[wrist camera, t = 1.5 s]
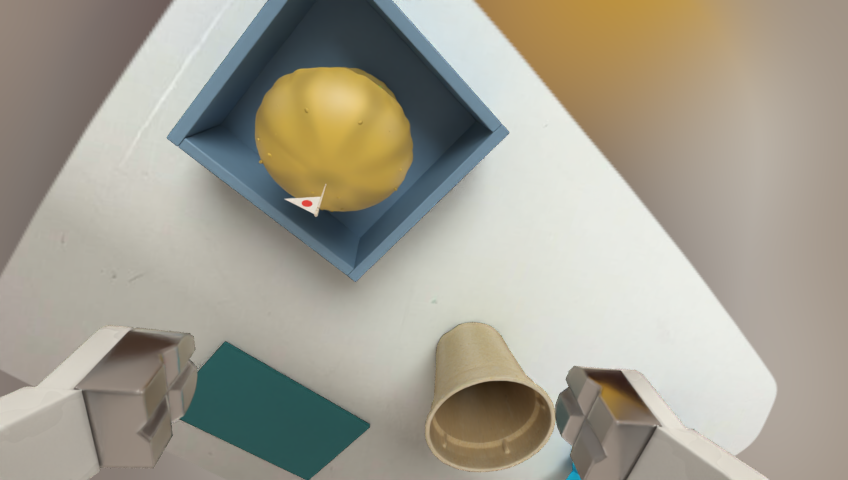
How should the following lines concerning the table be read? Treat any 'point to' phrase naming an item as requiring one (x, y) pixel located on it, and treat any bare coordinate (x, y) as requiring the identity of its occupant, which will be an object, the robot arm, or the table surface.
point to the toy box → (353, 48)
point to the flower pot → (484, 404)
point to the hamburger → (333, 138)
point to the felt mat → (269, 413)
